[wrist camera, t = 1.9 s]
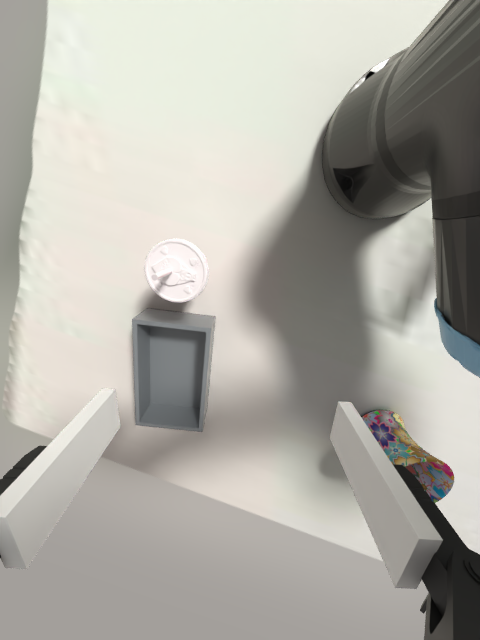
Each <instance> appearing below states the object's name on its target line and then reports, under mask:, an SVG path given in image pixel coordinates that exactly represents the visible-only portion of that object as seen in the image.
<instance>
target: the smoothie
mask: <svg viewBox="0 0 480 640" xmlns="http://www.w3.org/2000/svg"><path fill="white" fill-rule="evenodd" d="M144 270H145V276H146V279H147V282H148V284H149V286H150V287H151V289H152V290H153V291H154V292H155V293H156V294H157V295H158V296H160V297H161V298H163V299H165V300H168V301H171V302H186V301H189V300H192V299H193V298H195V297H196V296H198V295H199V294H200V293H201V292H202V291H203V289H204V288H205V287H206V284H207V281H208V277H209V269H208V262H207V258H206V256H205V255H204V254H203V253H202V252H201V251H200V249H199V248H198V247H196V246H195V245H194V244H192V243H191V242H188V241H186V240H183V239H176V238H174V239H168V240H164V241H161V242H159V243H157V244H156V245H155V246H154V247H153V248H152V249H151V250H150V251H149V253H148V255H147V257H146V260H145V266H144Z"/></svg>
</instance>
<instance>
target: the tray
mask: <svg viewBox="0 0 480 640" xmlns="http://www.w3.org/2000/svg"><path fill="white" fill-rule="evenodd" d="M215 317H216V316H208V315H199V314H191V313H182V312H174V311H165V310H157V309H149V308H147V309H146V310H144V311H143V312H142V313H140V314H139V315H137V316H136V317H135V318H133V319H132V327H133V358H134V389H135V420H136V425H140V426H149V427H159V428H169V429H179V430H189V431H199V432H202V431H203V426H204V422H205V417H206V412H207V404H208V393H209V382H210V372H211V361H212V350H213V339H214V328H215Z"/></svg>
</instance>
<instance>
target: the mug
mask: <svg viewBox="0 0 480 640" xmlns="http://www.w3.org/2000/svg"><path fill="white" fill-rule="evenodd" d="M362 419H363V421H364V422H365V424H366V425H367V427H368V428H369V430H370V431H371V433H372V434H373V436H374V437H375V439H376V440H377V442H378V443H379V445H380V446H381V448H382V449H383V451H384V452H385V454H386V455H387V457H388V458H389V460H390V461H391V463H392V464H398V465H403V466H404V467H406V468H407V469H408V470H409V471H410V472H411V473H412V474H413V475H414V476H415V477H416V478H417V480H418V481H419V482H420V484H421V485H422V486H423V488H424V491H426V492H427V493H428V495H429V496H430V497H431V500H432V502H434V503H436V502H438V501H439V500H441V499H442V498H443V497H445V496H446V495H447V494H448V493H449V491H450V490H451V488H452V486H453V483H454V474H453V472H452V470H451V468H450V467H449V466H448V465H447V464H445V463H444V462H442V461H440V460H439V459H437V458H435V457H433V456H432V455H430V454H429V453H427V452H426V451H425V450H423V449H422V448H421V447H420V446H418V445H417V444H416V443H415V442H414V441H413V440H412V438H411V437H410V436H409V434H408V433H407V431H406V429H405V427H404V422H403V420H402V419H401V417H400V416H399V415H397V414H396V413H394V412H392V411H388V410H377V411H373V412H370V413H368V414H366V415H364V416H363V417H362Z"/></svg>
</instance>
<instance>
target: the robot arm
mask: <svg viewBox="0 0 480 640" xmlns="http://www.w3.org/2000/svg"><path fill="white" fill-rule="evenodd" d="M322 165H323V173H324V177H325V181H326V184H327V186H328V189H329V191H330V193H331V194H332V196H333V197H334V199H335V200H336V201H337V203H338V204H339V205H340V206H341V207H343V208H344V209H345V210H347V211H348V212H350V213H352V214H354V215H356V216H359V217H363V218H369V219H379V218H386V217H393V216H397V215H401V214H404V213H406V212H409V211H411V210H413V209H415V208H417V207H419V206H420V205H422V204H424V203H425V202H426V201H428V200H429V199H430V198H432V212H433V218H432V220H433V238H434V256H435V275H436V293H437V298H436V299H435V302H434V307H435V312H436V315H437V317H438V320H439V327H440V334H441V340H442V343H443V345H444V347H445V349H446V350H447V352H448V353H449V354H450V356H452V357H453V358H454V359H456V360H457V361H459V362H460V364H461V365H462V366H463V367H464V368H465V369H467V370H468V371H470V372H471V373H473V374H474V375H476V376H478V377H480V0H449V1H448V2H447V4H446V5H445V6H444V7H443V8H442V9H441V11H440V12H439V13H438V14H437V15H436V16H435V18H434V19H433V20H432V21H431V22H430V23H429V25H428V26H427V27H426V28H425V29H424V31H423V32H422V33H421V34H420V35H419V36H418V38H417V39H416V40H415V41H414V42H413V43H412V44H411V46H410V47H408V48H406V49H404V50H402V51H401V52H399V53H397V54H395V55H393V56H392V57H390V58H388V59H386V60H384V61H383V62H381V63H379V64H377V65H376V66H374V67H373V68H372V69H370V70H369V71H368V72H367V73H365V74H364V75H363V76H362V77H361V78H360V79H359V80H358V81H357V82H356V83H355V84H354V85H353V87H352V88H351V89H350V90H349V92H348V93H347V94H346V96H345V97H344V99H343V100H342V101H341V103H340V104H339V106H338V107H337V109H336V111H335V112H334V114H333V116H332V118H331V121H330V123H329V126H328V128H327V131H326V135H325V139H324V144H323V152H322ZM120 427H121V425H120V417H119V410H118V403H117V396H116V389H106V388H102V389H101V390H100V391H99V392H98V393H97V394H96V396H95V397H94V398H93V399H92V400H91V401H90V402H89V403H88V404H87V405H86V406H85V407H84V408H83V409H82V410H81V411H80V412H79V413H78V414H77V416H76V417H75V418H74V419H73V420H72V421H71V422H70V423H69V424H68V425H67V426H66V427H65V428H64V429H63V430H62V431H61V432H60V433H59V434H58V436H57V437H56V438H55V439H54V440H53V441H52V442H51V443H50V444H49V445H48V446H38V447H37V448H35V449H34V450H32V451H31V452H29V453H28V454H26V455H25V456H24V457H23V458H22V459H21V460H20V461H19V462H18V463H17V464H16V465H15V466H14V467H13V469H11V470H9V471H8V472H7V473H6V475H4V476H3V479H0V558H1V560H2V562H3V564H4V566H5V568H17V569H27V568H28V566H29V565H30V563H31V562H32V560H33V559H34V557H35V556H36V554H37V553H38V551H39V550H40V548H41V547H42V545H43V544H44V542H45V541H46V539H47V538H48V536H49V535H50V533H51V532H52V530H53V528H54V527H55V525H56V524H57V522H58V521H59V519H60V518H61V516H62V515H63V513H64V512H65V510H66V509H67V507H68V506H69V504H70V503H71V501H72V500H73V498H74V497H75V495H76V494H77V492H78V490H79V489H80V487H81V486H82V484H83V483H84V481H85V480H86V478H87V477H88V475H89V474H90V472H91V471H92V469H93V468H94V466H95V465H96V463H97V462H98V460H99V458H100V457H101V456H102V454H103V452H104V451H105V449H106V448H107V446H108V445H109V443H110V442H111V440H112V439H113V437H114V436H115V434H116V433H117V431H118V430H119V428H120ZM330 440H331V442H332V444H333V447H334V449H335V451H336V453H337V456H338V458H339V460H340V463H341V465H342V467H343V469H344V472H345V474H346V476H347V479H348V481H349V483H350V485H351V488H352V490H353V492H354V495H355V497H356V499H357V501H358V504H359V506H360V508H361V511H362V513H363V515H364V517H365V520H366V522H367V524H368V527H369V529H370V531H371V534H372V536H373V538H374V540H375V543H376V545H377V547H378V550H379V552H380V554H381V556H382V559H383V561H384V563H385V566H386V568H387V570H388V572H389V575H390V577H391V579H392V581H393V584H394V586H395V588H410V589H416V588H417V587H418V585H419V583H420V581H421V580H423V582H424V584H425V586H426V588H427V590H428V591H429V594H428V595H427V597H426V599H425V600H424V602H423V604H422V606H421V609H420V611H421V612H422V613H424V612H425V611H426V620H425V621H426V622H425V636H424V640H480V555H479V554H478V553H476V552H474V551H472V550H470V549H468V548H467V546H466V545H465V544H464V543H463V541H462V540H461V539H460V537H459V536H458V535H457V533H456V532H455V530H454V529H453V528H452V526H451V525H450V524H449V522H448V521H447V519H446V518H445V517H444V515H443V514H442V513H441V511H440V510H439V508H438V507H437V506H436V504H435V503H434V502H432V500H431V497H430V496H429V495H428V493H427V492H426V491H424V488H423V486H422V485H421V484H420V482H419V481H418V480H417V478H416V477H415V476H414V475H413V474H412V473H411V472H410V471H409V470H408V469H407V468H406V467H404V466H403V465H398V464H392V463H391V461H390V460H389V458H388V457H387V455H386V454H385V452H384V451H383V449H382V448H381V446H380V445H379V443H378V442H377V440H376V439H375V437H374V436H373V434H372V433H371V431H370V430H369V428H368V427H367V425H366V424H365V422H364V421H363V419H362V418H361V416H360V415H359V413H358V412H357V410H356V409H355V407H354V406H353V404H352V403H351V402H339V401H338V404H337V409H336V413H335V417H334V421H333V426H332V430H331V434H330Z"/></svg>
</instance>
